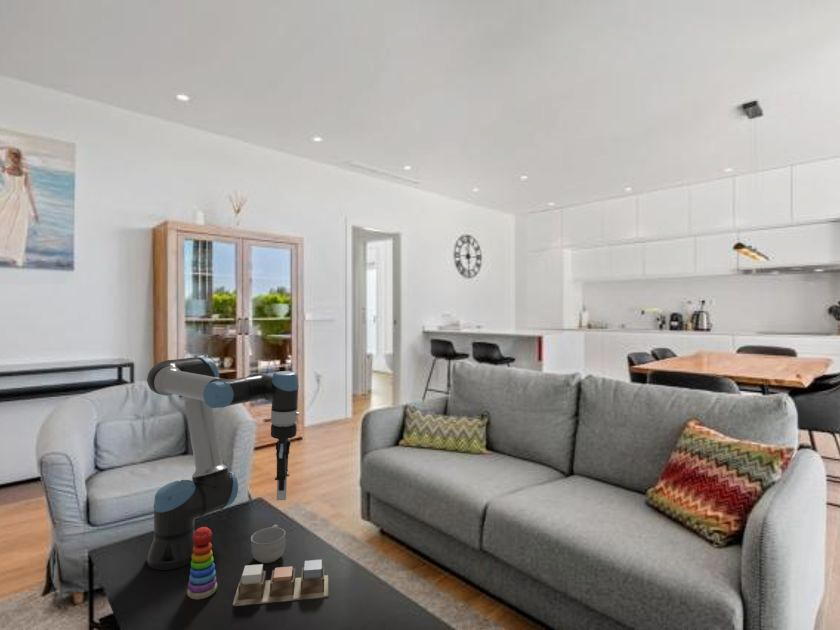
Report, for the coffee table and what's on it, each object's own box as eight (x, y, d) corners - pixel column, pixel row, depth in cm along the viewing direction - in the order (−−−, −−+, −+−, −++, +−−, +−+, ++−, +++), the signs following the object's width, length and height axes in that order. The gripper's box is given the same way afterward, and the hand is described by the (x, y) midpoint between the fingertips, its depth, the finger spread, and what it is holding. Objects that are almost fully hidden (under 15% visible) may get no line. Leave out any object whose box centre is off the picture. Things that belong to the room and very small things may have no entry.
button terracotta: (273, 591, 135) (273, 577, 135) (274, 580, 140) (275, 567, 140) (291, 589, 136) (291, 576, 136) (292, 579, 141) (292, 566, 141)
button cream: (241, 589, 134) (242, 575, 133) (244, 578, 138) (245, 565, 138) (260, 587, 134) (260, 574, 134) (262, 577, 139) (262, 564, 139)
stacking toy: (223, 586, 140) (224, 523, 139) (205, 603, 132) (206, 537, 131) (199, 582, 141) (200, 520, 141) (180, 598, 133) (181, 533, 133)
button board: (232, 606, 131) (232, 590, 131) (239, 584, 141) (239, 569, 140) (328, 597, 136) (328, 581, 136) (328, 576, 146) (328, 562, 146)
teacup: (274, 569, 149) (275, 544, 148) (243, 564, 151) (244, 540, 150) (295, 547, 162) (295, 524, 162) (266, 542, 164) (266, 520, 164)
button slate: (303, 583, 137) (304, 570, 137) (304, 573, 142) (304, 560, 142) (321, 582, 138) (321, 568, 138) (321, 572, 143) (321, 559, 143)
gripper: (294, 429, 138) (291, 508, 139) (298, 417, 150) (296, 489, 152) (267, 429, 136) (265, 509, 137) (274, 417, 149) (271, 490, 150)
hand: (281, 499), depth 145 cm, fingers closed
